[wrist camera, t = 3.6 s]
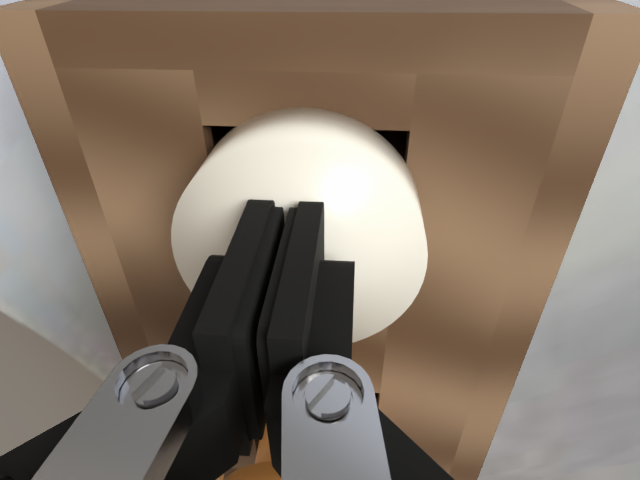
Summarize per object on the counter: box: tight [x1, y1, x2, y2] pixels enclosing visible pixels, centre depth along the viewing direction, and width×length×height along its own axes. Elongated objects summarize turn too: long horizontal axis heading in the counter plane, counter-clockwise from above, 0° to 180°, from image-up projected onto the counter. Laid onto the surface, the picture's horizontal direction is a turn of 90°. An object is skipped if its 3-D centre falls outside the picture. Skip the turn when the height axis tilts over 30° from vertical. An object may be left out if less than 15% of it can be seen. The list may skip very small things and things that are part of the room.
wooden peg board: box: [0, 0, 640, 480], centre depth 17 cm, size 20×14×6 cm
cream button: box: [171, 107, 428, 343], centre depth 13 cm, size 6×6×6 cm
